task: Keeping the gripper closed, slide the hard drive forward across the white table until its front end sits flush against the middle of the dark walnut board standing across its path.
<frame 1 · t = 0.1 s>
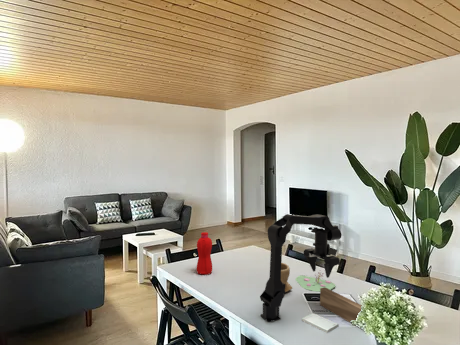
hand: (320, 274, 143), 15 cm above the table, tool pointing down, fingers open, 9 cm apart
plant: (313, 284, 171), on the table
hard drive: (319, 325, 127), on the table
walnut board: (343, 316, 132), on the table
stone cup: (280, 292, 159), on the table
water bottle: (204, 272, 188), on the table
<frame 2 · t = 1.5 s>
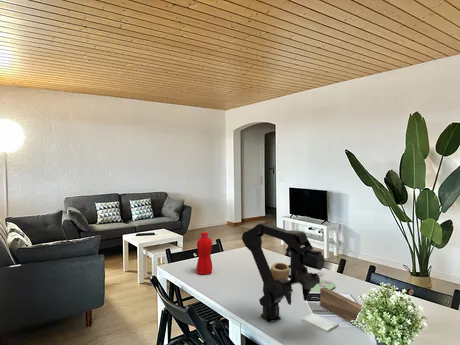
hand: (297, 302, 121), 11 cm above the table, tool pointing down, fingers open, 8 cm apart
nothing on the table moved.
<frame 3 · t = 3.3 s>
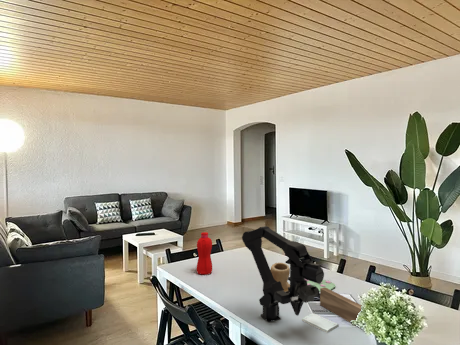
hand: (296, 315, 121), 6 cm above the table, tool pointing down, fingers closed
nothing on the table moved.
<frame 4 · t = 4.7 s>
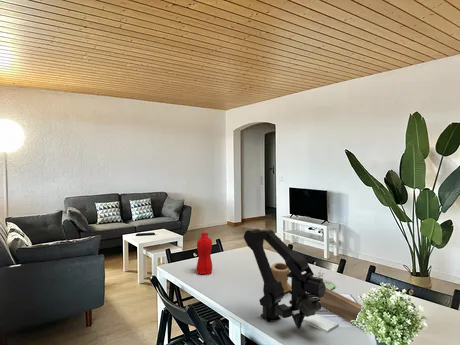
hand: (298, 328, 122), 1 cm above the table, tool pointing down, fingers closed
nothing on the table moved.
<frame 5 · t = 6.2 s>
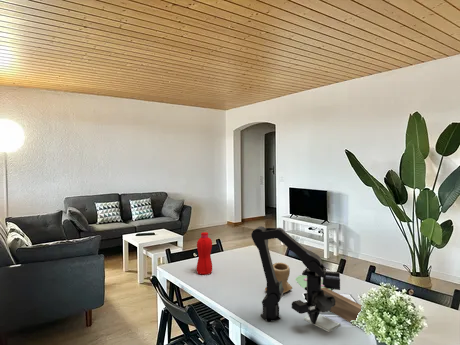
hand: (313, 323, 125), 1 cm above the table, tool pointing down, fingers closed
hard drive: (322, 324, 127), on the table, touching gripper
everything else where it was.
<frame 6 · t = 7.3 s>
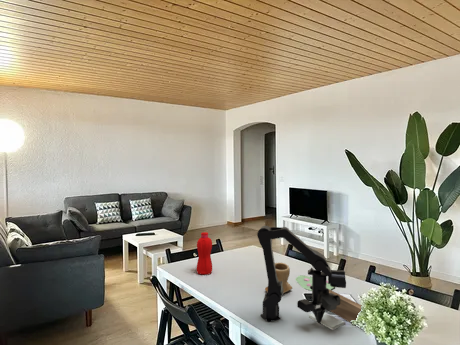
hand: (318, 322, 126), 0 cm above the table, tool pointing down, fingers closed
hard drive: (326, 322, 129), on the table
everything else where it was.
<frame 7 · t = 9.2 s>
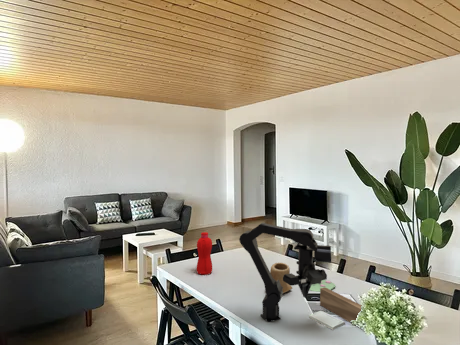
hand: (304, 297, 127), 11 cm above the table, tool pointing down, fingers closed
nothing on the table moved.
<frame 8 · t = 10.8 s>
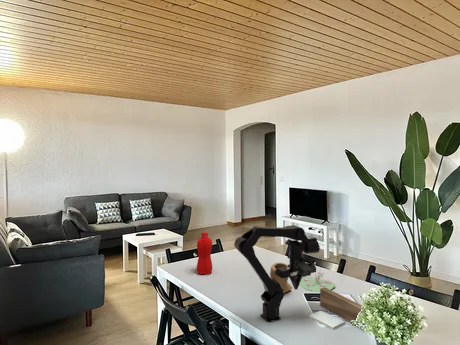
hand: (295, 289, 135), 11 cm above the table, tool pointing down, fingers closed
nothing on the table moved.
at the end: hard drive 1.4 cm from the target spot on the table beside the walnut board, on the table; hard drive tilted 0° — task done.
